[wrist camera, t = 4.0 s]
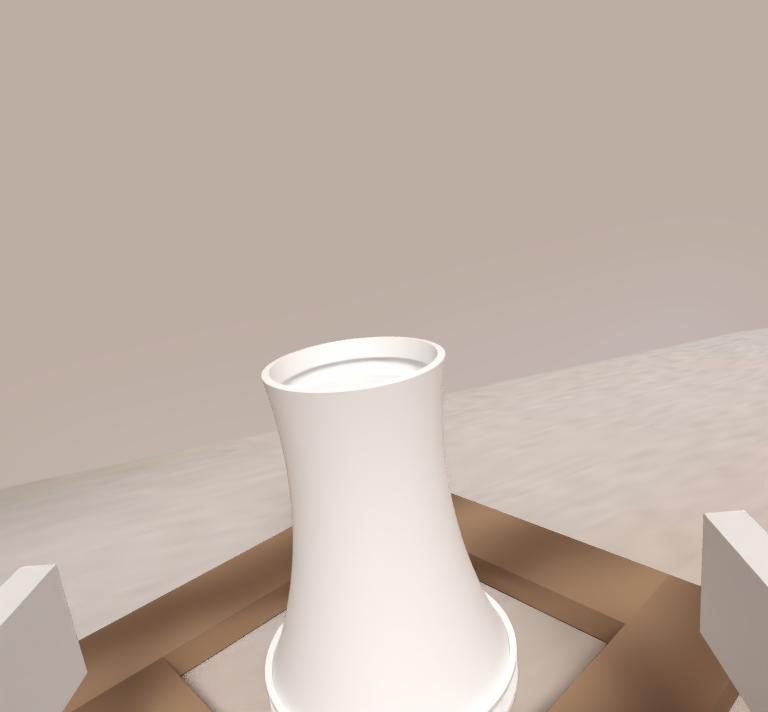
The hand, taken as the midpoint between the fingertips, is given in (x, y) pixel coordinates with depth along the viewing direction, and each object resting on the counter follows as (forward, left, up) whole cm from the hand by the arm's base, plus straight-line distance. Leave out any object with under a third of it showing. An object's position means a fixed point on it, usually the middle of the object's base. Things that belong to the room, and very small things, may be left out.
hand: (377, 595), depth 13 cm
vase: (-4, +3, -7) cm, 8 cm away
